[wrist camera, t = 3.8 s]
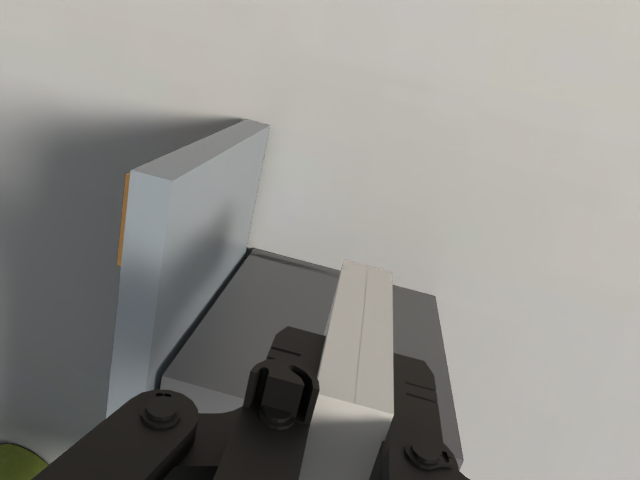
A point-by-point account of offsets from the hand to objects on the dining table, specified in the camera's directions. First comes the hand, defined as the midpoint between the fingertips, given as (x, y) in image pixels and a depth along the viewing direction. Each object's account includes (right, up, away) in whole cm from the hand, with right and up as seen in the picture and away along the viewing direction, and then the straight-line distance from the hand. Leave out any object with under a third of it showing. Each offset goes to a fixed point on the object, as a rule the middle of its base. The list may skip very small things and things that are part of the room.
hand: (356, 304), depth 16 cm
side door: (-7, -2, +13) cm, 15 cm away
